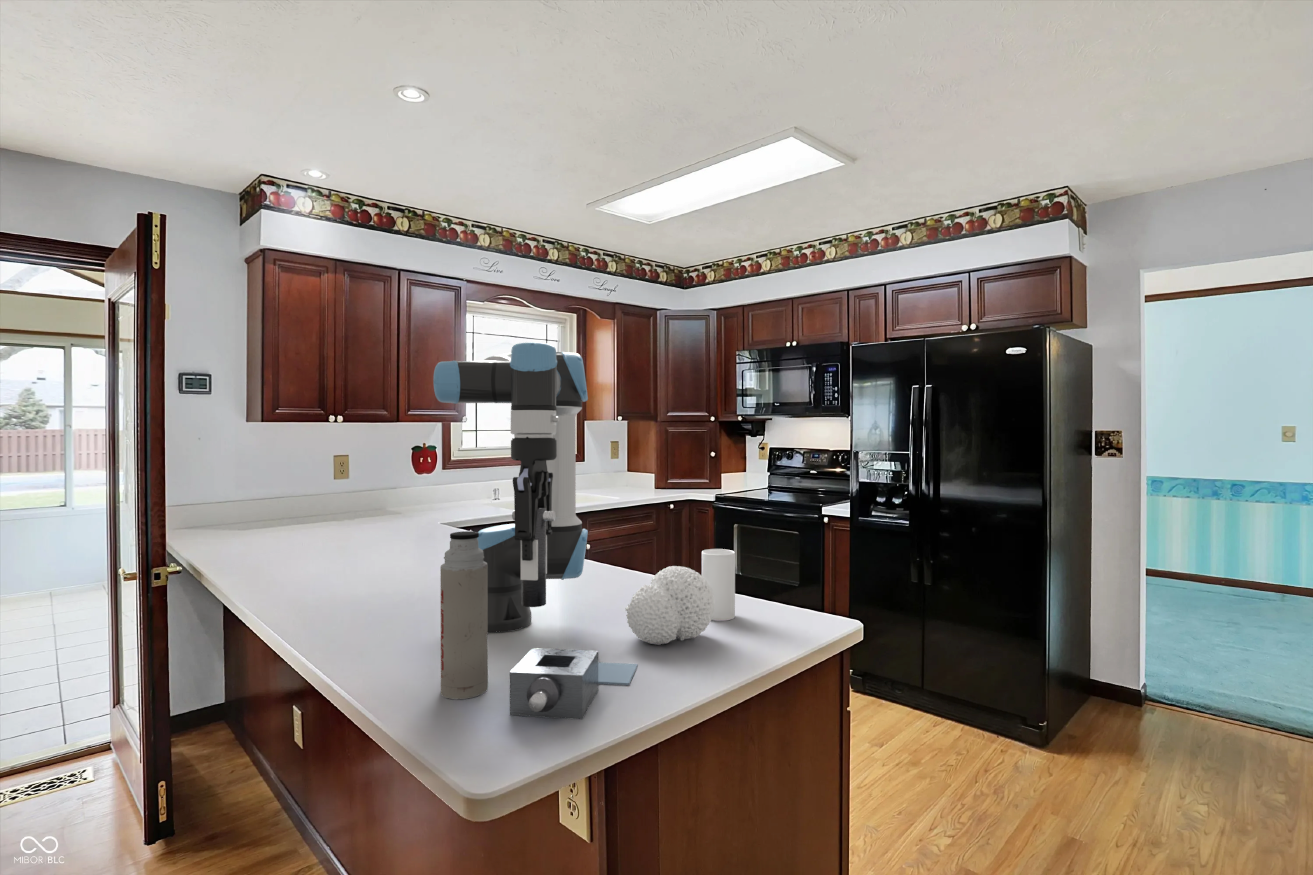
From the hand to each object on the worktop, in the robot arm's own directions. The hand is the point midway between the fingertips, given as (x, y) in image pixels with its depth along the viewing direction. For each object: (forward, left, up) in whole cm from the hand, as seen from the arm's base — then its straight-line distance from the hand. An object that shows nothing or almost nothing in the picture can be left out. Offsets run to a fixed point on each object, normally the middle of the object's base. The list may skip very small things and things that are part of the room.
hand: (534, 576), depth 111 cm
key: (0, 0, -5) cm, 5 cm away
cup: (+29, +58, -22) cm, 68 cm away
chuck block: (+3, -1, -22) cm, 22 cm away
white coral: (+20, +37, -22) cm, 48 cm away
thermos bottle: (-14, +4, -22) cm, 26 cm away
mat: (+9, +16, -22) cm, 28 cm away
